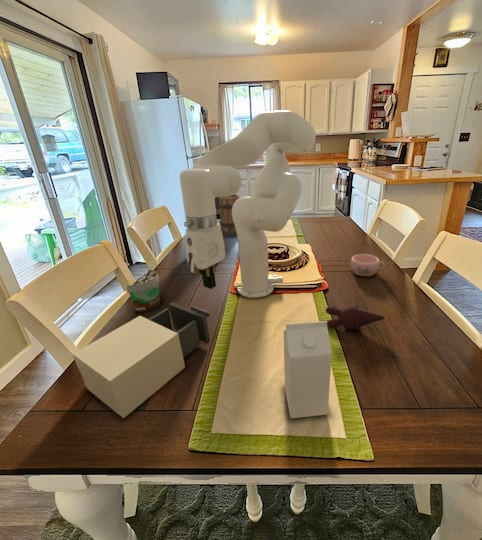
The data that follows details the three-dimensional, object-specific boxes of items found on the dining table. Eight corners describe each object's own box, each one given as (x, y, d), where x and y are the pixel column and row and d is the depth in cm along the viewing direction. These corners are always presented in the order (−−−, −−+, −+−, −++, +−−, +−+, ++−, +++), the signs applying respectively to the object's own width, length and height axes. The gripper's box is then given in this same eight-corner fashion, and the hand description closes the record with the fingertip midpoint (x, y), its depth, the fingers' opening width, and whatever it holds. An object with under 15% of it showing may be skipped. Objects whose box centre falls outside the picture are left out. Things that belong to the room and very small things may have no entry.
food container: (151, 316, 87) (144, 287, 83) (133, 314, 88) (125, 286, 84) (171, 295, 98) (165, 269, 94) (155, 294, 99) (148, 268, 95)
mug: (350, 278, 104) (351, 263, 101) (349, 266, 112) (350, 252, 110) (385, 280, 101) (388, 265, 99) (381, 268, 110) (384, 254, 107)
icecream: (382, 300, 78) (325, 300, 81) (387, 309, 71) (324, 309, 74) (382, 325, 79) (326, 324, 83) (387, 335, 72) (325, 334, 75)
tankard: (212, 236, 154) (208, 199, 145) (222, 227, 168) (219, 192, 160) (255, 237, 149) (253, 198, 140) (262, 228, 164) (260, 192, 155)
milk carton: (284, 388, 60) (283, 313, 52) (318, 385, 61) (321, 309, 53) (290, 419, 54) (289, 338, 46) (327, 415, 54) (333, 334, 46)
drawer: (188, 318, 84) (183, 295, 80) (221, 332, 77) (217, 307, 74) (130, 357, 70) (122, 331, 66) (164, 378, 63) (156, 350, 60)
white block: (148, 347, 74) (139, 315, 70) (185, 367, 67) (178, 333, 63) (87, 388, 63) (72, 353, 58) (123, 418, 56) (109, 381, 51)
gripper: (189, 231, 64) (200, 302, 71) (232, 216, 75) (237, 279, 83) (167, 227, 68) (179, 294, 75) (211, 213, 79) (217, 273, 87)
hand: (209, 286), depth 79 cm, fingers closed
